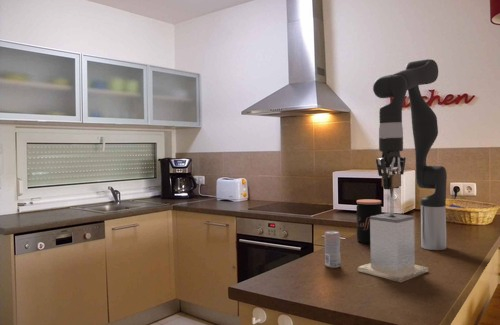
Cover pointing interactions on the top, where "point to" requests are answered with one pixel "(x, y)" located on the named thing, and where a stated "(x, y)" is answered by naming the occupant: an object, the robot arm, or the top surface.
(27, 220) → the top surface
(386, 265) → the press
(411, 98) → the robot arm
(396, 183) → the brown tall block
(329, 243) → the energy drink
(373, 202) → the coffee jar
